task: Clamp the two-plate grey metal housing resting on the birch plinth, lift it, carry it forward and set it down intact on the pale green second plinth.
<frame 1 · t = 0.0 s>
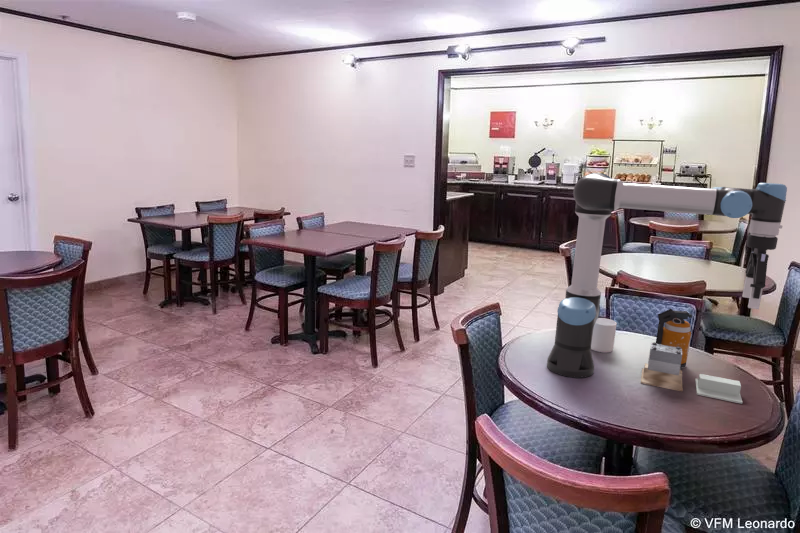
hand: (750, 302, 167), 28 cm above the table, fingers open, 13 cm apart
mug: (603, 348, 202), on the table
housing: (663, 368, 174), point 4 cm above the table, touching stand a
stand a: (661, 380, 175), on the table
canister: (667, 365, 189), on the table
stand b: (717, 391, 169), on the table
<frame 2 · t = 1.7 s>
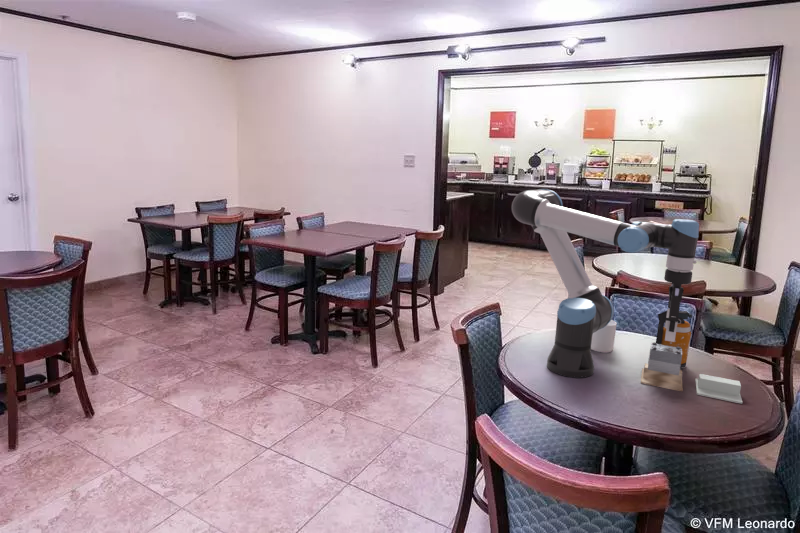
hand: (669, 334, 172), 16 cm above the table, fingers open, 13 cm apart
nothing on the table moved.
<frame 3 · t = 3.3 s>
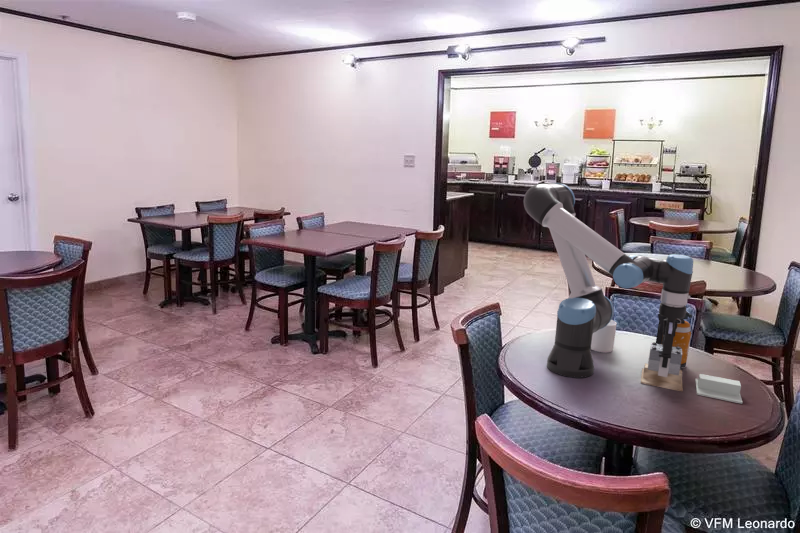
hand: (662, 371, 175), 3 cm above the table, fingers closed on housing, 6 cm apart
housing: (663, 368, 174), point 4 cm above the table, touching gripper, stand a
everything else where it was.
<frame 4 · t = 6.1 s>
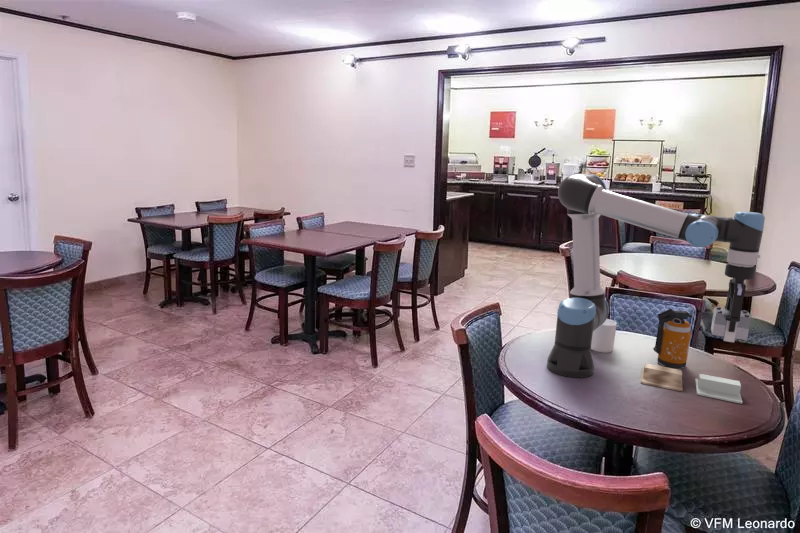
hand: (727, 337, 165), 18 cm above the table, fingers closed on housing, 6 cm apart
housing: (728, 334, 164), point 19 cm above the table, touching gripper
everything else where it was.
when the fingers open (4 cm above the table, at t = 8.8 s): housing drops 1 cm, resting on stand b.
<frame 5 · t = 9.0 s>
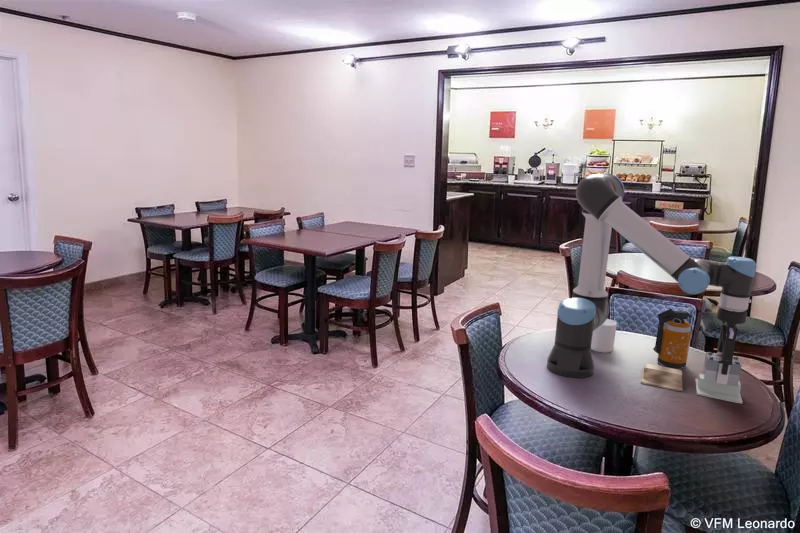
hand: (720, 377, 168), 5 cm above the table, fingers open, 9 cm apart
housing: (719, 379, 168), point 4 cm above the table, touching stand b
everything else where it was.
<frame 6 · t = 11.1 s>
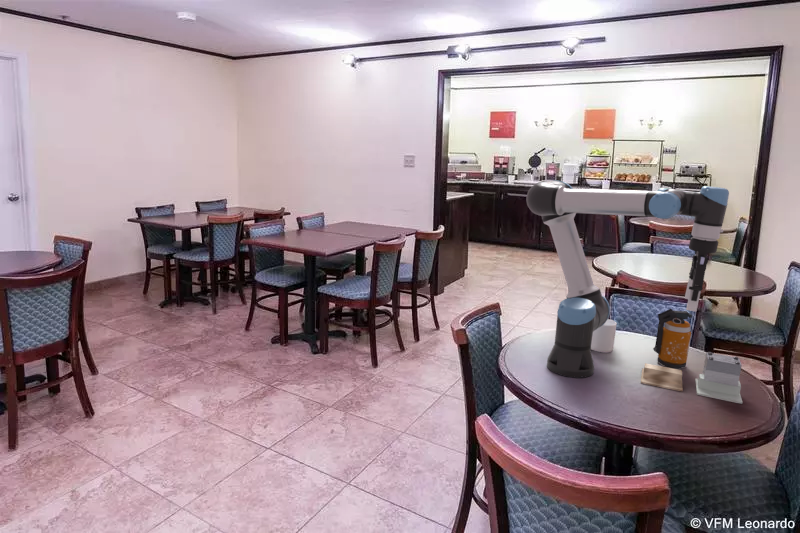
hand: (690, 304, 168), 26 cm above the table, fingers open, 13 cm apart
nothing on the table moved.
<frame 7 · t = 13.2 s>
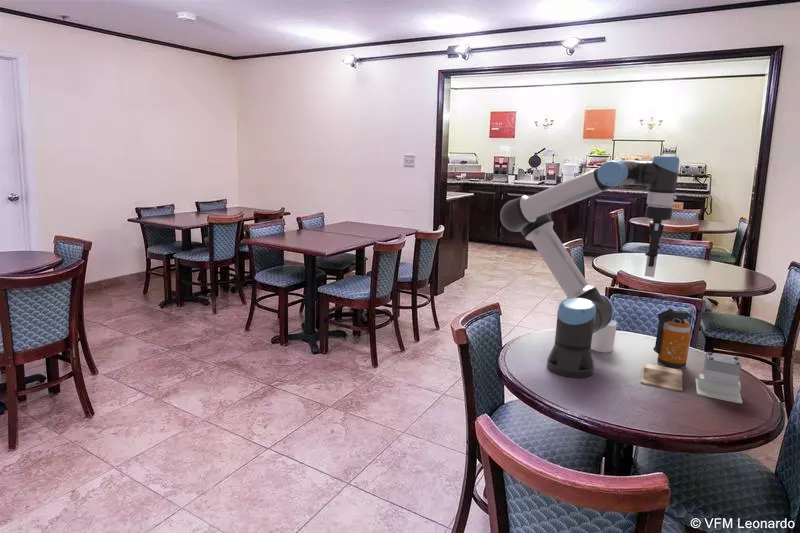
hand: (649, 272, 173), 35 cm above the table, fingers open, 13 cm apart
nothing on the table moved.
at the end: housing 0.1 cm off-centre on the stand b, point 4.0 cm above the stand b's base; housing tilted 0°; the gripper is holding nothing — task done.
